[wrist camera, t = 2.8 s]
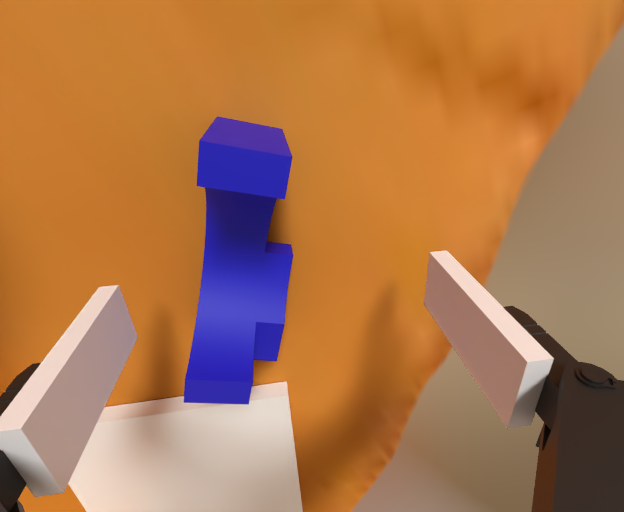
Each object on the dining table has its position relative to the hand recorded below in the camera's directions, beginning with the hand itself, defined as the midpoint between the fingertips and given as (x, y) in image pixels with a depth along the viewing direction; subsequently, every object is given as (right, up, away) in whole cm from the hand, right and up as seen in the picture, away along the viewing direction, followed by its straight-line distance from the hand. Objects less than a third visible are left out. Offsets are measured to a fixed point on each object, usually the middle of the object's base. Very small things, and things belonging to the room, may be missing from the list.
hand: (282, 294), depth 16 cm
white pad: (-8, -15, +13) cm, 21 cm away
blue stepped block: (-2, +3, +4) cm, 6 cm away
